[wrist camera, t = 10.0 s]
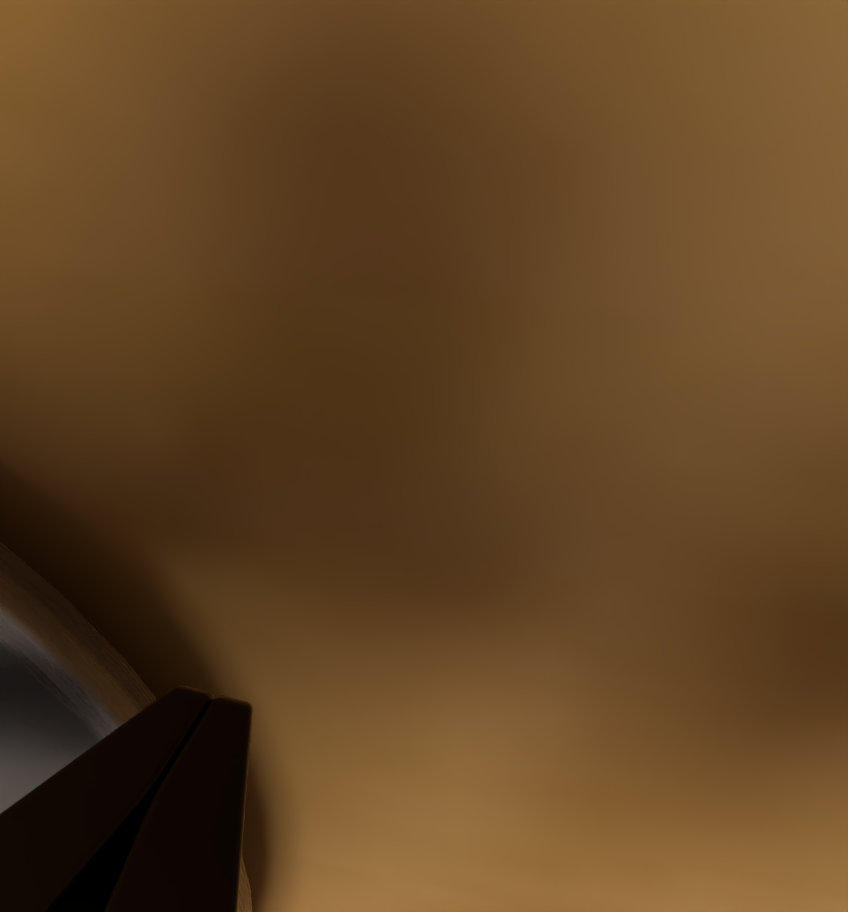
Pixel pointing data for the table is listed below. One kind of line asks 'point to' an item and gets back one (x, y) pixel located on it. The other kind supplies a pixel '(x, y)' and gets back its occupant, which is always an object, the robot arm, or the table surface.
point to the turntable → (57, 686)
